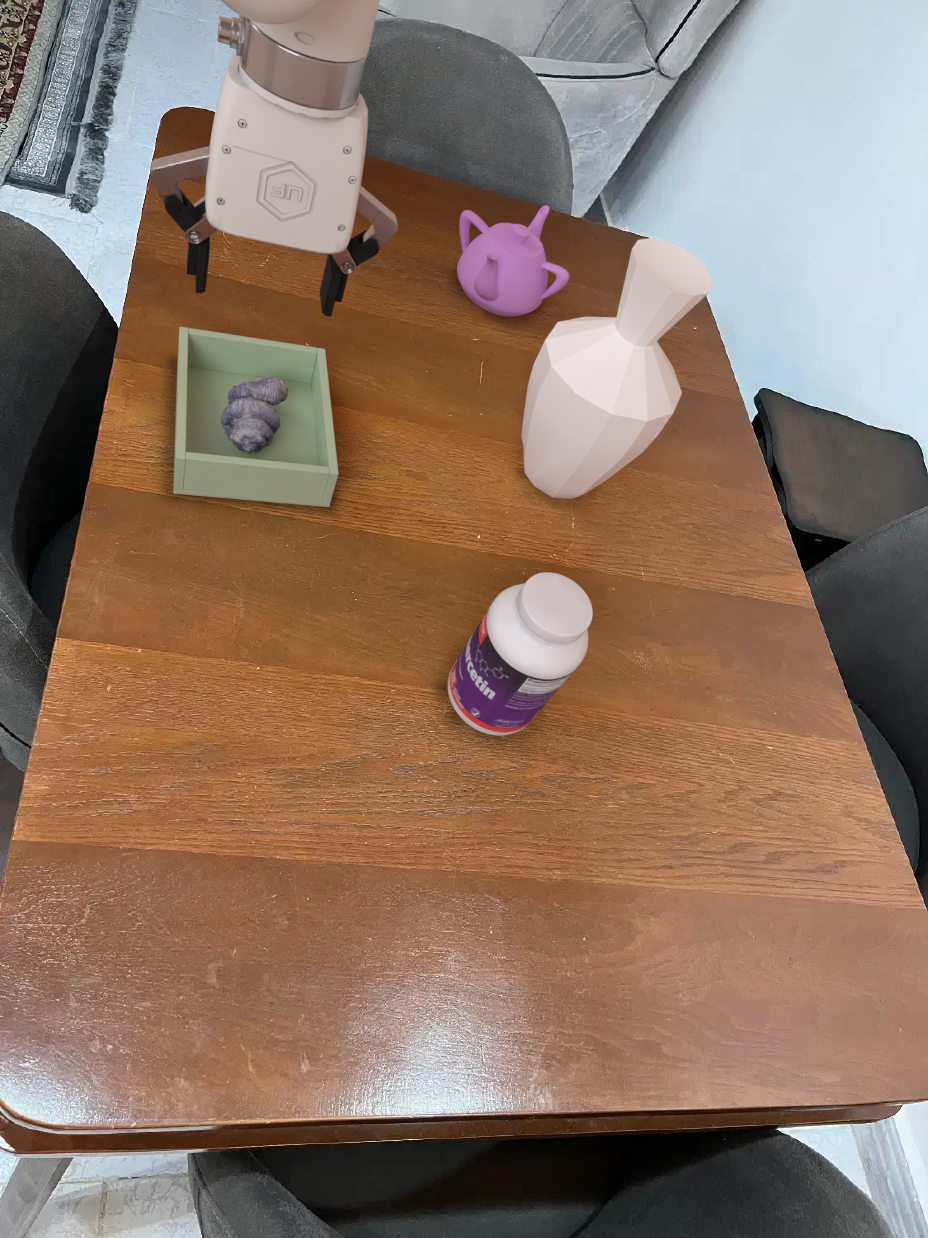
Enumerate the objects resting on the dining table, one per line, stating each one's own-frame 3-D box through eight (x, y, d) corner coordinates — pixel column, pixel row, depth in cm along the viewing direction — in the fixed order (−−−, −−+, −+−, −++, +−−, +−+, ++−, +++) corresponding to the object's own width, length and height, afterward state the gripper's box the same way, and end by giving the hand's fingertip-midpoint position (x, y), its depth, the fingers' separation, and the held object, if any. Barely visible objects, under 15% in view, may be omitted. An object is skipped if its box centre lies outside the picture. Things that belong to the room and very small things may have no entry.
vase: (613, 537, 87) (752, 345, 68) (485, 492, 85) (591, 279, 65) (618, 447, 96) (742, 254, 76) (502, 404, 94) (600, 193, 74)
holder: (173, 493, 72) (175, 457, 69) (177, 363, 81) (179, 325, 78) (329, 507, 77) (338, 474, 74) (317, 383, 86) (325, 348, 82)
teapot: (464, 321, 100) (489, 255, 93) (440, 249, 107) (461, 183, 100) (552, 332, 105) (582, 271, 98) (524, 263, 112) (550, 201, 105)
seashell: (250, 402, 82) (240, 478, 77) (219, 362, 78) (206, 440, 73) (298, 386, 81) (292, 463, 76) (269, 344, 77) (260, 422, 71)
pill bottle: (434, 658, 72) (492, 556, 60) (519, 654, 75) (588, 556, 63) (456, 745, 68) (522, 652, 56) (544, 737, 71) (623, 648, 59)
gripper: (154, 49, 47) (144, 304, 61) (441, 128, 54) (376, 343, 67) (158, -8, 51) (148, 242, 65) (425, 71, 58) (366, 285, 71)
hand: (264, 293), depth 66 cm, fingers open, 9 cm apart
